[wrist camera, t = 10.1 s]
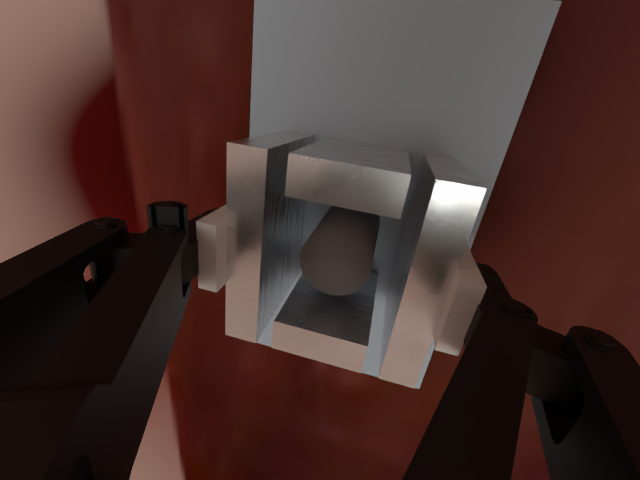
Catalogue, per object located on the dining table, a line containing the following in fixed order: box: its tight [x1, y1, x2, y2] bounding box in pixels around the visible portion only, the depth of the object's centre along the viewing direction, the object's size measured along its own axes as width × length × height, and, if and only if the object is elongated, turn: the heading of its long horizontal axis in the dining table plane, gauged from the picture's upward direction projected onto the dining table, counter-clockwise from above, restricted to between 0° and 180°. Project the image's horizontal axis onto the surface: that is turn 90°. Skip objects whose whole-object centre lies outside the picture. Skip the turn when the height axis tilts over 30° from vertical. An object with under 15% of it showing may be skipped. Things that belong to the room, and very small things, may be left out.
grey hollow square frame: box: [225, 130, 487, 389], centre depth 14 cm, size 8×8×6 cm
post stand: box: [249, 0, 562, 389], centre depth 15 cm, size 12×20×6 cm, turn 172°
